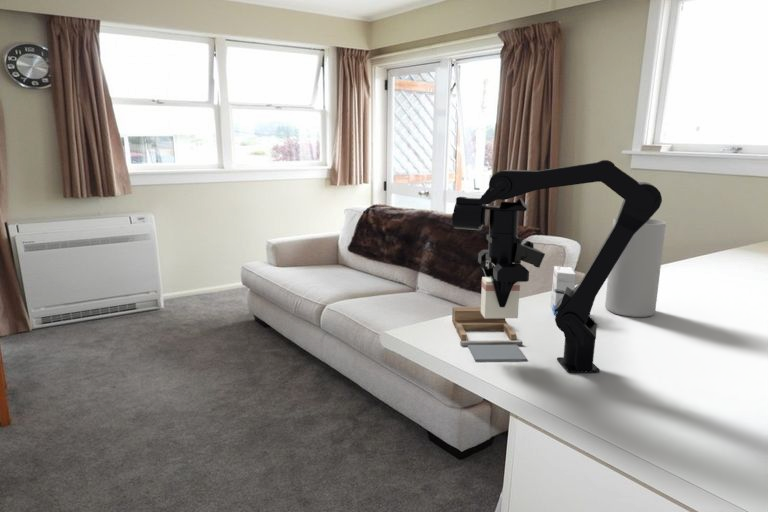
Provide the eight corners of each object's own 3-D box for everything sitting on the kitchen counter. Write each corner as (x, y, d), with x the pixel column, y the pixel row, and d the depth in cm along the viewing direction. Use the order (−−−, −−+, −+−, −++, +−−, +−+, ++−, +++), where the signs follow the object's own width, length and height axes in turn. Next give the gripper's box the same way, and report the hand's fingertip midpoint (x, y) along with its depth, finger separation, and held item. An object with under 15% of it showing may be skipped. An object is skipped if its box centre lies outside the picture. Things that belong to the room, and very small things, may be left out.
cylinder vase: (653, 307, 143) (664, 219, 138) (656, 320, 132) (667, 225, 127) (605, 302, 148) (613, 216, 143) (604, 314, 137) (613, 222, 132)
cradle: (522, 345, 115) (523, 328, 115) (461, 345, 115) (461, 329, 114) (503, 321, 132) (504, 306, 131) (449, 321, 131) (450, 306, 130)
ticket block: (518, 318, 107) (520, 281, 105) (484, 318, 107) (486, 281, 105) (512, 312, 111) (514, 276, 109) (480, 312, 111) (481, 276, 109)
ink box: (573, 316, 135) (576, 273, 133) (553, 315, 136) (556, 272, 134) (568, 307, 143) (571, 266, 141) (550, 306, 144) (553, 265, 142)
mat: (527, 360, 107) (527, 358, 107) (475, 361, 107) (475, 359, 107) (516, 346, 115) (516, 344, 115) (468, 346, 115) (468, 344, 114)
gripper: (558, 239, 96) (552, 317, 100) (528, 224, 115) (524, 291, 118) (499, 239, 96) (495, 318, 99) (478, 225, 114) (476, 292, 117)
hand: (499, 303), depth 108 cm, fingers closed on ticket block, 4 cm apart
